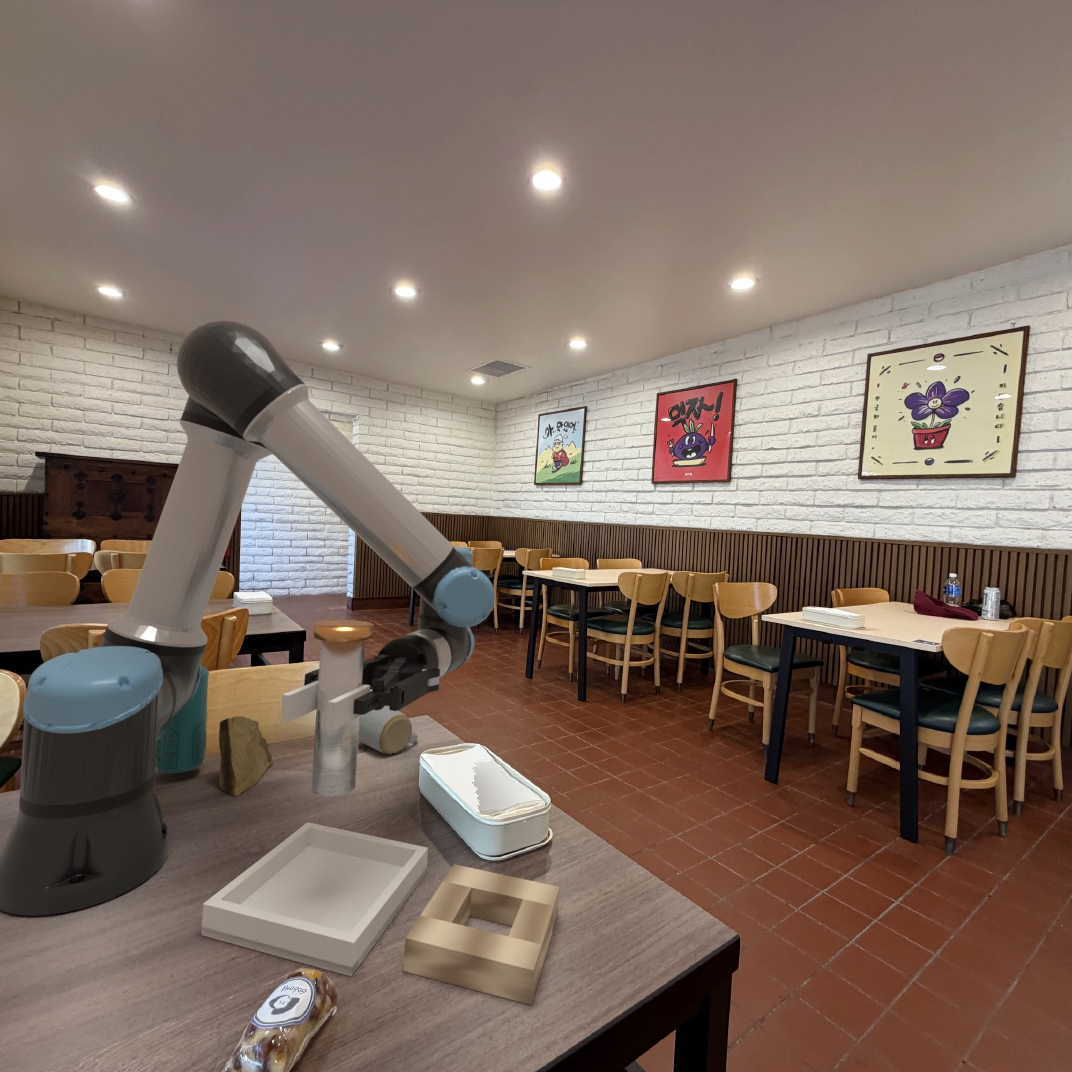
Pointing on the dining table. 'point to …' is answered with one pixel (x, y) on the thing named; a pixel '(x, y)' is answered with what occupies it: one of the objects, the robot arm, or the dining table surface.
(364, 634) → the steel pin
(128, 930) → the dining table surface
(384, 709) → the ceramic mug
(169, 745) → the beverage bottle
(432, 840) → the dining table surface
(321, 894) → the tray
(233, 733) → the rock
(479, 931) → the block
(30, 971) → the dining table surface
